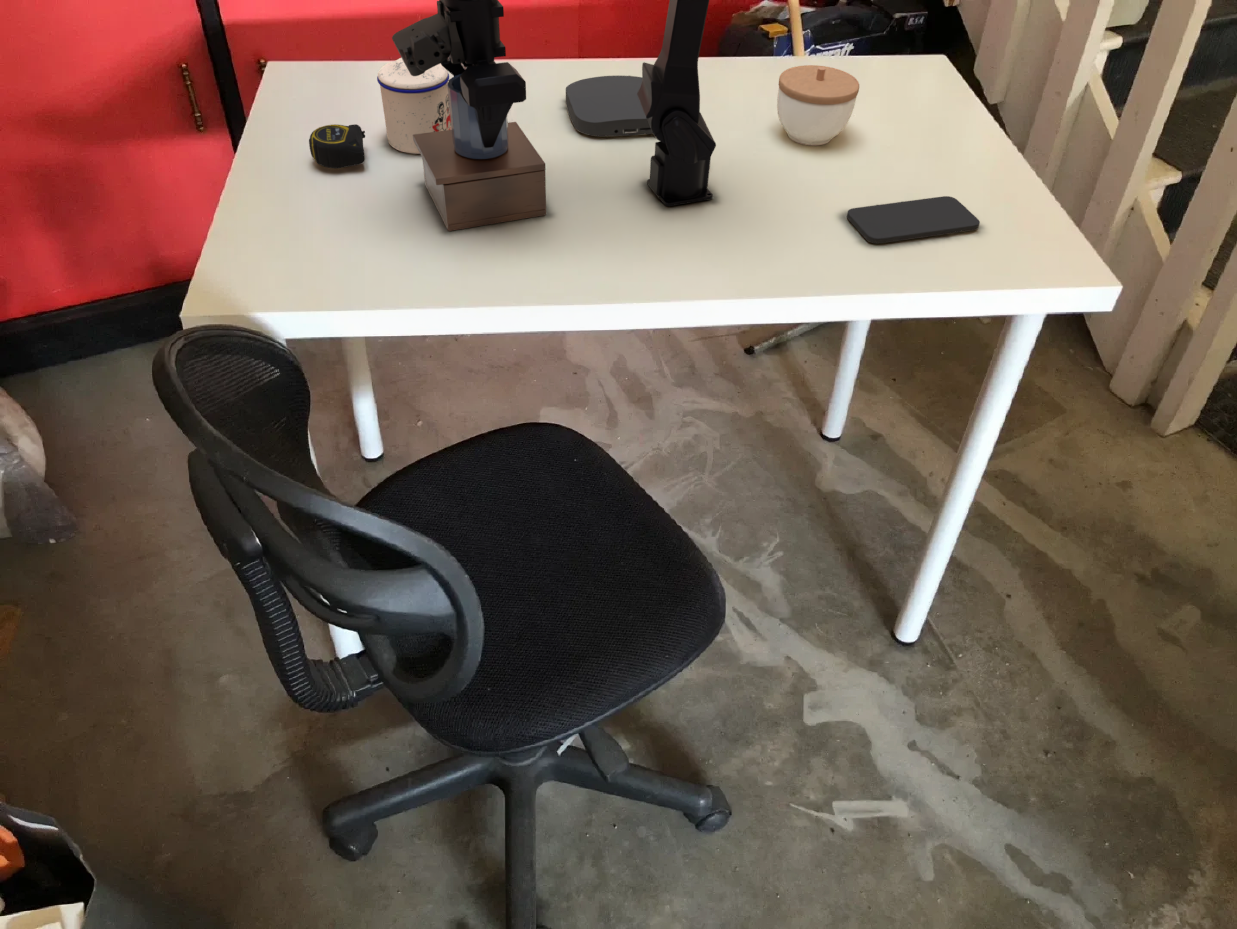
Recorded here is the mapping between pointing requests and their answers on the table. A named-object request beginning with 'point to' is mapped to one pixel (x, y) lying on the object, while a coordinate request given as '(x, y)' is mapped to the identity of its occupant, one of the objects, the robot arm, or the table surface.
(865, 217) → the phone
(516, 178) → the box
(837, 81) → the trinket box
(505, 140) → the cup
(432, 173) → the box lid
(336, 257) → the table surface
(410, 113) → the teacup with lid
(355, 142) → the tape measure
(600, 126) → the media streaming box
